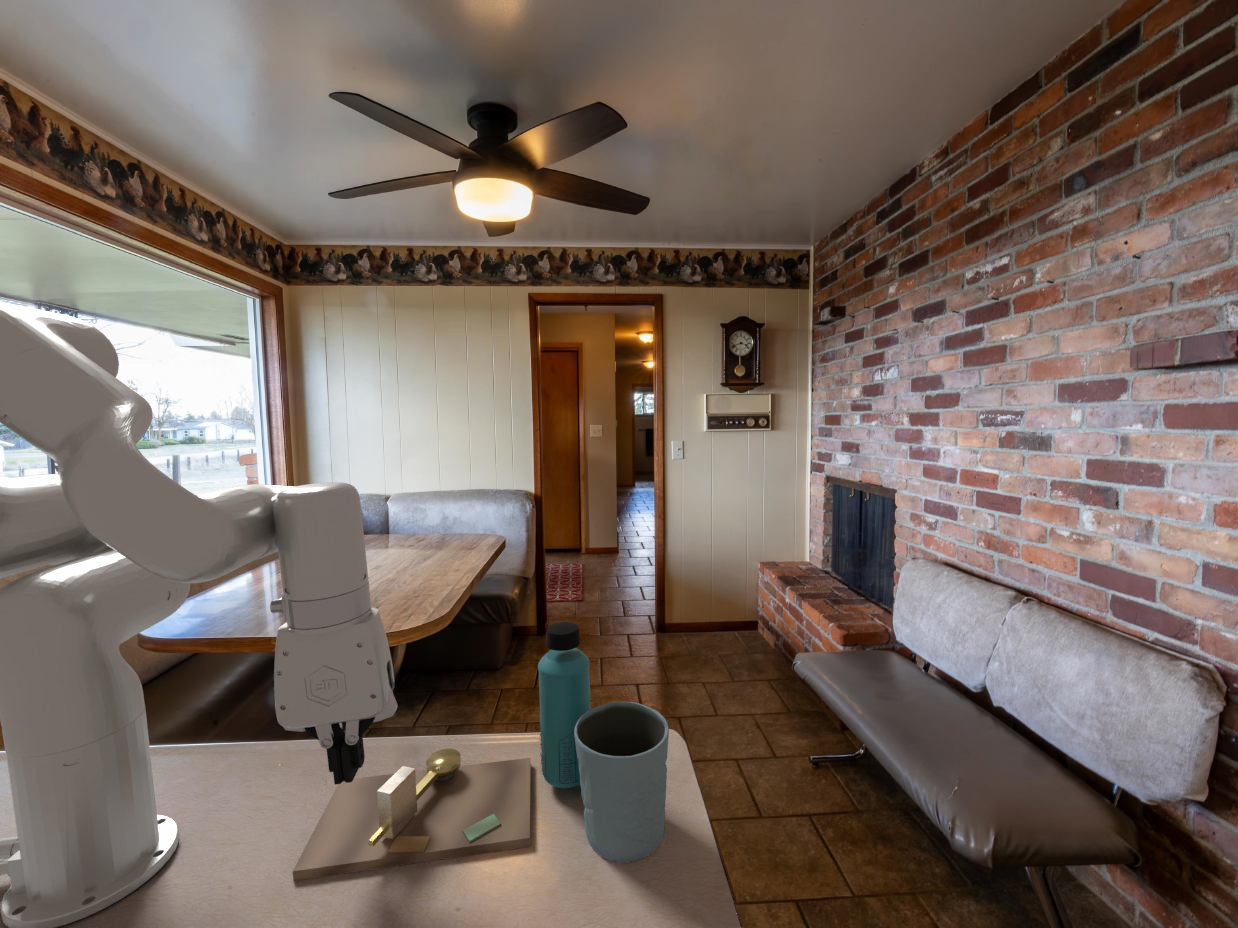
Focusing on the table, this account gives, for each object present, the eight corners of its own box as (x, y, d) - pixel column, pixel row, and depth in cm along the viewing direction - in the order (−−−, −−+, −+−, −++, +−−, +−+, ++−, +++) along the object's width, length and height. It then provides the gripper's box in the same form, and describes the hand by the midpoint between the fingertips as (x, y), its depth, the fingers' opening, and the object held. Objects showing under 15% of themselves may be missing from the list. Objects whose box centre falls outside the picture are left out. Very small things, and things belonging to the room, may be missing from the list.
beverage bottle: (586, 804, 61) (582, 640, 59) (532, 797, 62) (527, 635, 60) (599, 767, 67) (596, 617, 65) (550, 761, 69) (546, 614, 67)
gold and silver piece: (439, 759, 67) (437, 721, 67) (467, 764, 66) (465, 726, 66) (355, 849, 53) (352, 803, 53) (388, 858, 52) (385, 811, 52)
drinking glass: (675, 866, 52) (675, 754, 51) (574, 872, 52) (572, 759, 51) (662, 793, 63) (661, 698, 61) (577, 797, 62) (575, 701, 61)
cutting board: (293, 880, 52) (291, 861, 51) (340, 787, 64) (339, 772, 64) (530, 846, 55) (529, 828, 55) (530, 764, 68) (530, 750, 68)
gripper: (226, 629, 48) (251, 813, 50) (397, 611, 50) (415, 787, 52) (267, 600, 55) (287, 761, 57) (415, 585, 58) (429, 741, 60)
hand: (348, 773), depth 55 cm, fingers closed
